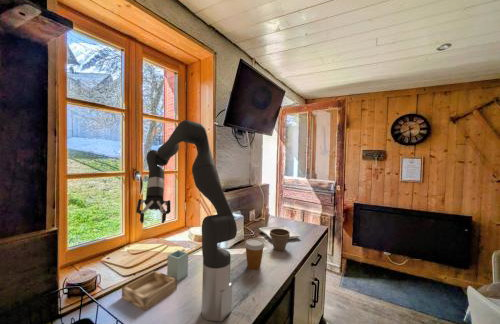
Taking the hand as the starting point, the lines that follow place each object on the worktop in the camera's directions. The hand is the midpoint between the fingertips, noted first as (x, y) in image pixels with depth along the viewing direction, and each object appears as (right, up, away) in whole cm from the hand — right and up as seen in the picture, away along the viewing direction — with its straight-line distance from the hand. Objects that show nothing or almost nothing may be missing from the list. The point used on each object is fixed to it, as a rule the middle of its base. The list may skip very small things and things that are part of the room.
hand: (152, 222), depth 99 cm
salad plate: (+63, -23, +51) cm, 84 cm away
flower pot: (+60, -23, +29) cm, 71 cm away
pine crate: (+5, -23, -15) cm, 28 cm away
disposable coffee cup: (+45, -24, +8) cm, 52 cm away
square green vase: (+12, -23, -3) cm, 26 cm away
